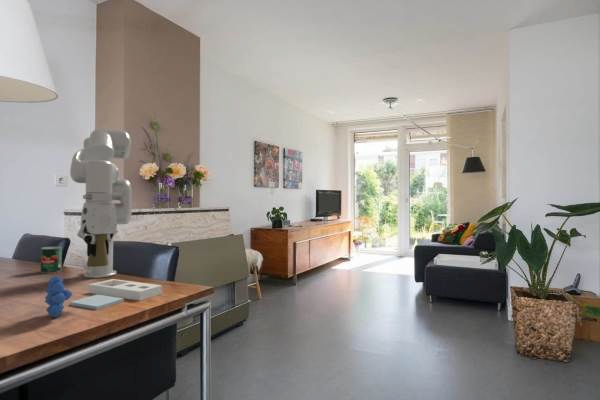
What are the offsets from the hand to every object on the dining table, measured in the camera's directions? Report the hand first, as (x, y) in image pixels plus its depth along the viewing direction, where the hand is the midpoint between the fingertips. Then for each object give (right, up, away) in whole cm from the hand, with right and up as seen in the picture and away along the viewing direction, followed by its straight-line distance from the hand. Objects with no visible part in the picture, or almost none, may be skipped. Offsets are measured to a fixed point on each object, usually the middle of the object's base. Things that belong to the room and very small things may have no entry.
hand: (98, 254), depth 118 cm
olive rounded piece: (0, -3, 0) cm, 3 cm away
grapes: (-4, -16, -14) cm, 21 cm away
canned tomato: (-48, -15, +48) cm, 70 cm away
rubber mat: (0, -16, 0) cm, 16 cm away
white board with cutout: (+3, -16, +13) cm, 20 cm away
